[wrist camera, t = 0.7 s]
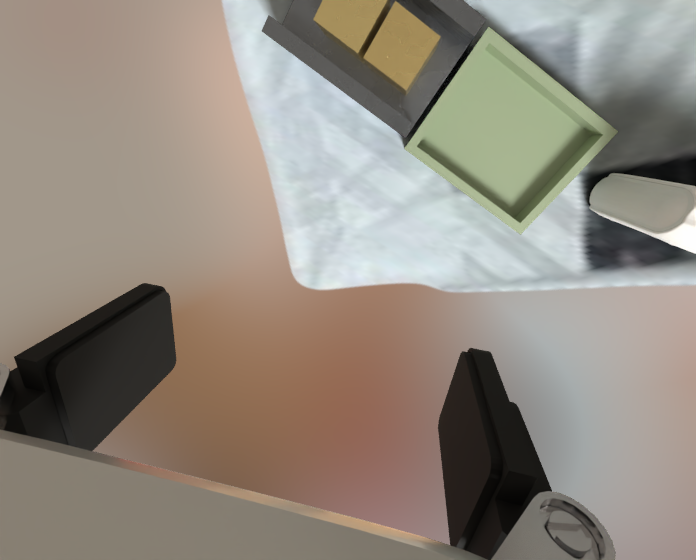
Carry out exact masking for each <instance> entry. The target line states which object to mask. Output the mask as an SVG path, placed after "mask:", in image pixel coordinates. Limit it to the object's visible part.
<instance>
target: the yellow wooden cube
mask: <svg viewBox="0 0 696 560" xmlns="http://www.w3.org/2000/svg"><path fill="white" fill-rule="evenodd" d="M390 10H391V5H390V0H322V2H321V5H320V7H319V9H318V11H317V13H316V15H315V17H314V19H313V20H314V21H315V22H316V24H317V25H318V26H319V28H320V29H321V30H322V32H323V33H324V34H325V35H326V36H327V37H329V38H330V39H331V40H333V41H334V42H335V43H337V44H338V45H339V46H341V47H342V48H343V49H345V50H346V51H347V52H349V53H350V54H351V55H352V56H354V57H355V58H356V59H358V60H359V61H360V62H362V63H363V64H364V62H365V60H364V58H363V57H364V56H365V54H366V52H367V50H368V48H369V47H370V45H371V43H372V41H373V40H374V38H375V36H376V34H377V33H378V31H379V29H380V27H381V25H382V24H383V22H384V20H385V18H386V17H387V15H388V13H389V11H390Z"/></svg>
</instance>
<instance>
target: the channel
mask: <svg viewBox="0 0 696 560" xmlns="http://www.w3.org/2000/svg"><path fill="white" fill-rule="evenodd" d="M395 1H396V2H398V3H399V4H400V5H401V6H403V7H404V8H405V9H406V10H408V11H409V12H410V13H412V14H413V15H414V16H415V17H417V18H418V19H419V20H420V21H422V22H423V23H424V24H425V25H427V26H428V27H429V28H430V29H432V30H433V31H434V32H436V33H437V34H438V35H439V36H441V37H440V40H439V43H438V45H437V48H436V50H435V52H434V53H433V55H432V57H431V58H430V60H429V61H428V63H427V64H426V66H425V67H424V69H423V70H422V72H421V74H420V75H419V77H418V78H417V80H416V81H415V83H414V84H413V86H412V88H411V89H410V91H409V92H408V94H407V95H406V96H405V95H404V94H403V93H401V92H400V91H399V90H397V89H396V88H395V87H393V86H392V85H391V84H389V83H388V82H387V81H385V80H384V79H383V78H381V77H380V76H379V75H378V74H376V73H375V72H374V71H372V70H371V69H370V68H368V66H367V64H366V62H364V64H363V63H362V62H360V61H359V60H358V59H356V58H355V57H354V56H352V55H351V54H350V53H349V52H347V51H346V50H345V49H343V48H342V47H341V46H339V45H338V44H337V43H335V42H334V41H333V40H331V39H330V38H329V37H327V36H326V35H325V34H324V33H323V32H322V30H321V29H320V28H319V26H318V25H317V24H316V22H315V21H314V20H313V19H314V17H315V15H316V13H317V11H318V9H319V7H320V5H321V2H322V0H293V2H292V4H291V7H290V9H289V11H288V13H287V15H286V18H285V20H284V22H283V24H282V25H281V24H280V23H279V22H277V21H276V20H275V19H273V18H272V17H271V16H269V15H268V18H267V20H266V22H265V25H264V27H263V29H262V32H264V33H265V34H266V35H268V36H269V37H270V38H272V39H273V40H274V41H276V42H277V43H278V44H280V45H281V46H282V47H284V48H285V49H286V50H288V51H289V52H290V53H292V54H293V55H295V56H296V57H297V58H299V59H300V60H301V61H303V62H304V63H305V64H307V65H308V66H309V67H311V68H312V69H313V70H315V71H316V72H317V73H319V74H320V75H321V76H323V77H324V78H325V79H327V80H328V81H329V82H331V83H332V84H334V85H335V86H336V87H338V88H339V89H340V90H342V91H343V92H344V93H346V94H347V95H348V96H350V97H351V98H352V99H354V100H355V101H356V102H358V103H359V104H360V105H362V106H363V107H364V108H366V109H367V110H369V111H370V112H371V113H373V114H374V115H375V116H377V117H378V118H379V119H381V120H382V121H383V122H385V123H386V124H387V125H389V126H390V127H391V128H393V129H394V130H395V131H397V132H398V133H399V134H401V135H402V136H403V137H405V138H406V137H407V135H408V134H409V132H410V131H411V129H412V128H413V127H414V125H415V123H416V122H417V120H418V119H419V117H420V116H421V114H422V113H423V111H424V110H425V108H426V107H427V106H428V104H429V103H430V101H431V100H432V98H433V97H434V95H435V94H436V92H437V91H438V89H439V88H440V86H441V85H442V83H443V82H444V81H445V79H446V78H447V76H448V75H449V73H450V72H451V70H452V69H453V67H454V66H455V64H456V63H457V61H458V60H459V58H460V57H461V56H462V54H463V53H464V51H465V50H466V48H467V47H468V45H469V44H470V42H471V41H472V40H473V38H474V37H475V35H476V34H477V33H478V31H479V30H480V28H481V27H482V25H483V24H484V22H485V21H486V19H485V18H484V17H483V16H482V15H480V14H479V13H478V12H477V11H475V10H474V9H473V8H472V7H471V6H469V5H468V4H467V3H466V2H464V1H463V0H390V5H391V8H392V6H393V4H394V2H395Z"/></svg>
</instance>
